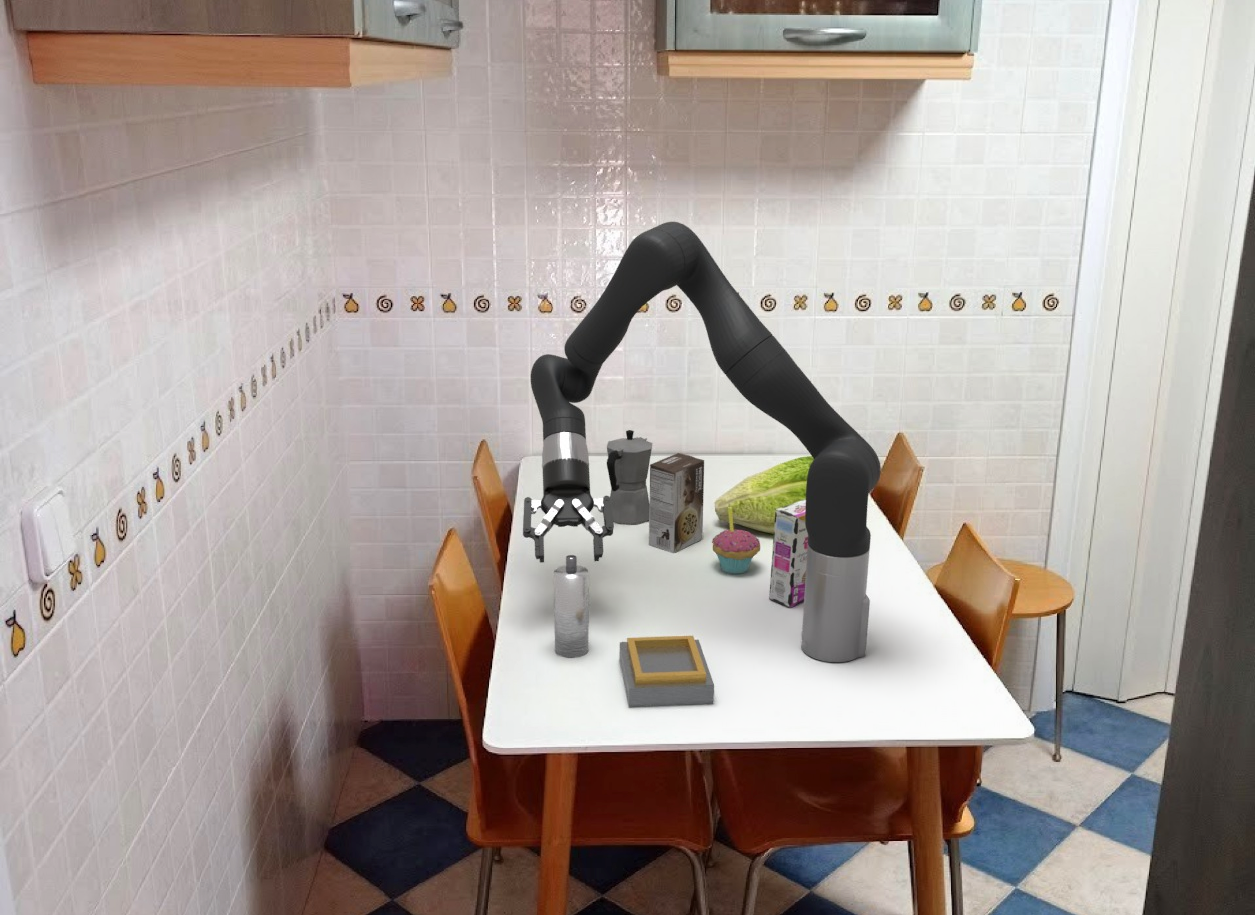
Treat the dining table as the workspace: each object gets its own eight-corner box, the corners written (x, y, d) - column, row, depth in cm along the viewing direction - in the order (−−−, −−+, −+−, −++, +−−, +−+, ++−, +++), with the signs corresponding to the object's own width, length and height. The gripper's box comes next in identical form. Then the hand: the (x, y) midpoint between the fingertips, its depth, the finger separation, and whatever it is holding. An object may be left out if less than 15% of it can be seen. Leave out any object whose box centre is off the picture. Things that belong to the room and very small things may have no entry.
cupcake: (701, 568, 215) (703, 505, 212) (731, 555, 221) (733, 494, 218) (739, 582, 210) (742, 518, 206) (768, 568, 216) (772, 505, 212)
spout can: (587, 641, 188) (587, 549, 183) (589, 656, 183) (589, 563, 178) (553, 642, 187) (553, 550, 182) (555, 658, 182) (554, 564, 178)
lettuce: (725, 564, 229) (733, 544, 245) (850, 530, 224) (850, 511, 239) (702, 491, 228) (711, 475, 243) (827, 455, 222) (828, 441, 237)
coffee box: (676, 531, 232) (678, 451, 227) (703, 539, 228) (706, 459, 223) (646, 545, 226) (648, 463, 220) (674, 553, 222) (676, 471, 217)
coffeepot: (622, 502, 247) (623, 418, 241) (664, 510, 243) (666, 425, 237) (586, 527, 234) (586, 438, 228) (630, 535, 230) (631, 445, 224)
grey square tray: (697, 657, 183) (698, 632, 182) (713, 703, 170) (714, 677, 169) (619, 660, 182) (619, 635, 181) (628, 707, 169) (629, 680, 167)
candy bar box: (791, 609, 200) (797, 517, 195) (768, 600, 203) (773, 509, 198) (832, 590, 207) (838, 500, 202) (808, 581, 211) (814, 493, 205)
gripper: (521, 457, 190) (523, 552, 183) (611, 455, 192) (617, 549, 184) (521, 477, 197) (523, 570, 190) (608, 476, 198) (613, 568, 191)
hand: (569, 560), depth 187 cm, fingers open, 8 cm apart
